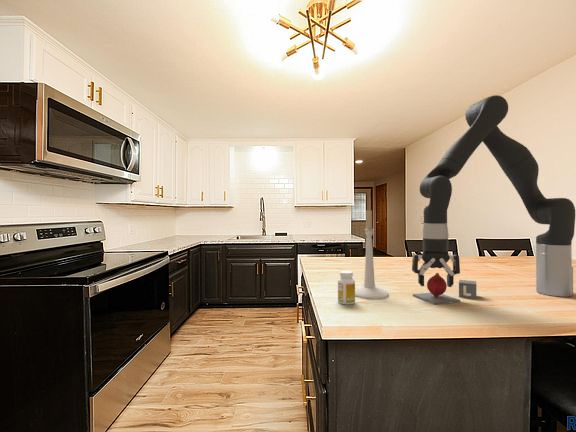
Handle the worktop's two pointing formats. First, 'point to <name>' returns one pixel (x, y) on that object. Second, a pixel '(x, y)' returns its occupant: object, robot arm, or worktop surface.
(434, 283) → the onion
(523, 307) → the worktop surface
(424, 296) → the mat
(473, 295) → the marked cube
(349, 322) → the worktop surface
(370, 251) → the candlestick
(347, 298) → the supplement bottle
